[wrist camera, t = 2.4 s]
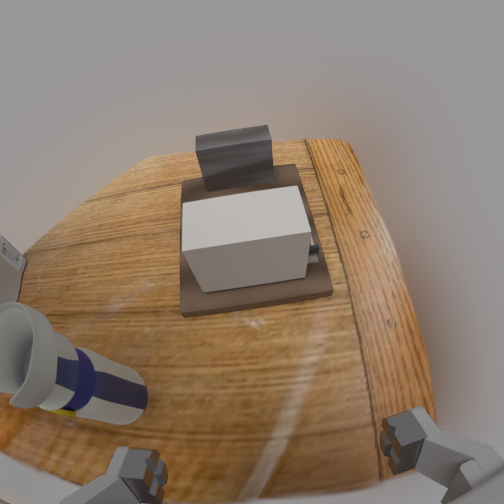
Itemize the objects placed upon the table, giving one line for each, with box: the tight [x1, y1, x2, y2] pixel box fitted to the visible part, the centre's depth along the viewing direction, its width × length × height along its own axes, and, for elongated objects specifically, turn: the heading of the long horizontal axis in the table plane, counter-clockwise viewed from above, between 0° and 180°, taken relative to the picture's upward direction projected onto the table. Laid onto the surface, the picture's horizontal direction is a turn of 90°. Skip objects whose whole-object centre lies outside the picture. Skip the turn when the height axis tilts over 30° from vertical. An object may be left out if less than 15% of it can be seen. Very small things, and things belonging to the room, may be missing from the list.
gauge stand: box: [180, 125, 333, 317], centre depth 38 cm, size 22×18×10 cm
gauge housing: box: [182, 186, 319, 293], centre depth 34 cm, size 8×14×9 cm, turn 97°
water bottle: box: [0, 302, 147, 425], centre depth 20 cm, size 8×9×25 cm
